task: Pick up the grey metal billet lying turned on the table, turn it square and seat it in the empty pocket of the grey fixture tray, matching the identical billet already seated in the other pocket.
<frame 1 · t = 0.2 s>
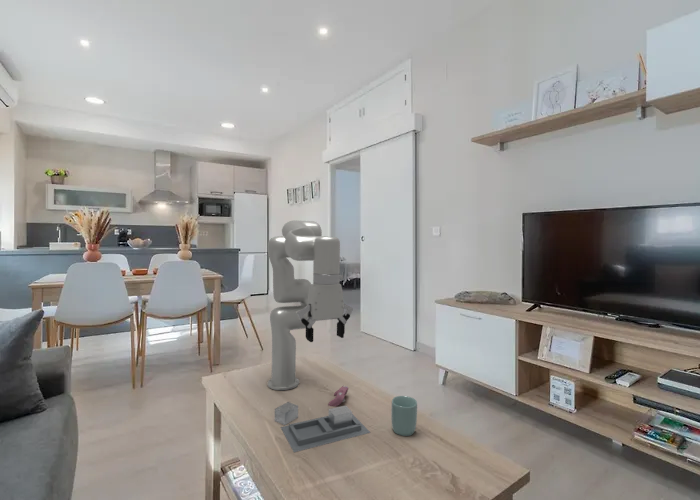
hand: (325, 338, 101), 31 cm above the table, tool pointing down, fingers open, 9 cm apart
cup: (403, 433, 108), on the table
grey fixture tray: (325, 433, 107), on the table
billet: (286, 422, 113), on the table
video game controller: (338, 403, 127), on the table
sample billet: (340, 426, 109), point 1 cm above the table, touching grey fixture tray
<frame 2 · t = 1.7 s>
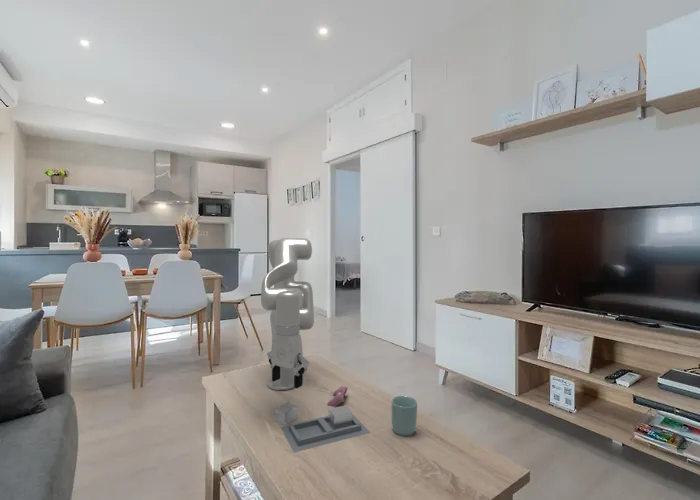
hand: (287, 383, 112), 13 cm above the table, tool pointing down, fingers open, 9 cm apart
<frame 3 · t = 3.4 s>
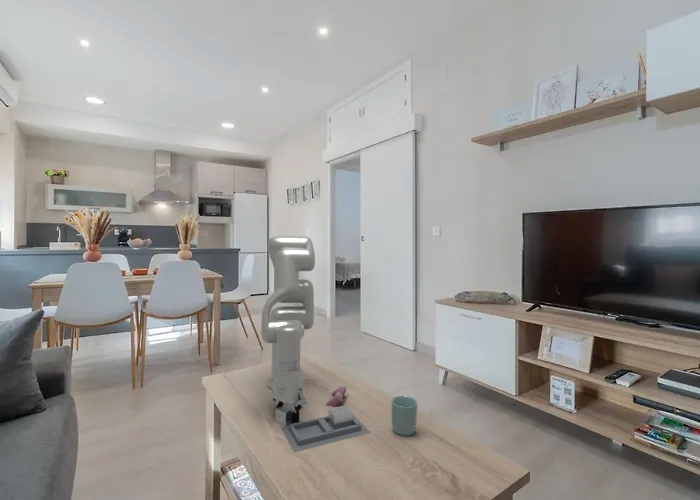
hand: (287, 419, 112), 1 cm above the table, tool pointing down, fingers open, 5 cm apart
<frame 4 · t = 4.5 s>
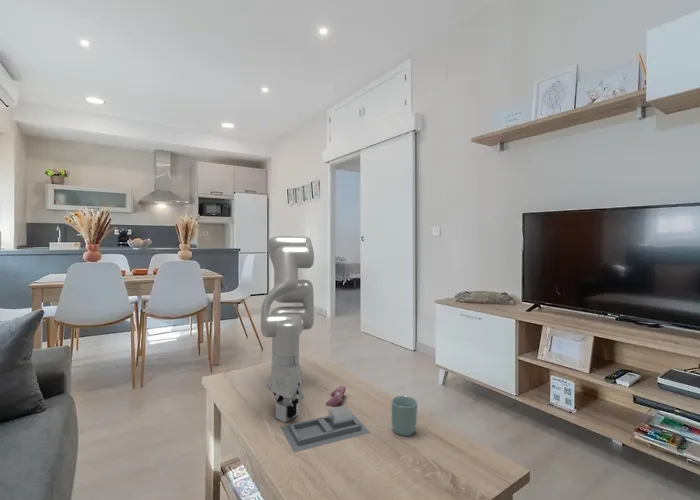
hand: (286, 413, 114), 2 cm above the table, tool pointing down, fingers closed on billet, 4 cm apart
billet: (287, 416, 114), point 1 cm above the table, touching gripper
everything else where it was.
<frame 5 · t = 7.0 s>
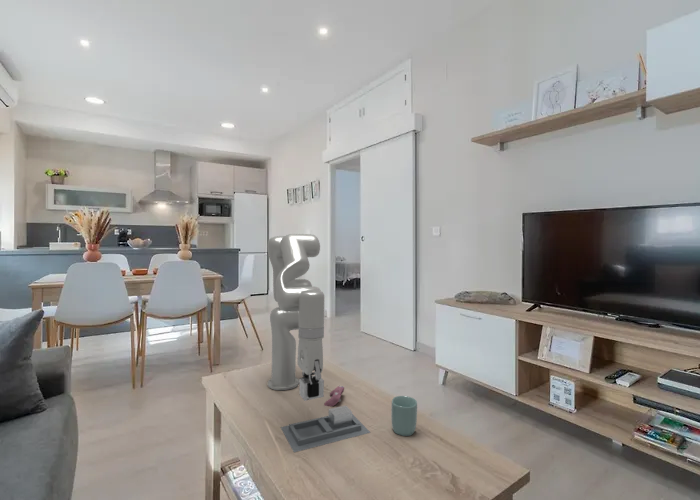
hand: (310, 392, 104), 14 cm above the table, tool pointing down, fingers closed on billet, 4 cm apart
billet: (311, 395, 105), point 12 cm above the table, touching gripper
when the fingers open (3 cm above the table, at t = 9.5 s): billet stays where it is, resting on grey fixture tray.
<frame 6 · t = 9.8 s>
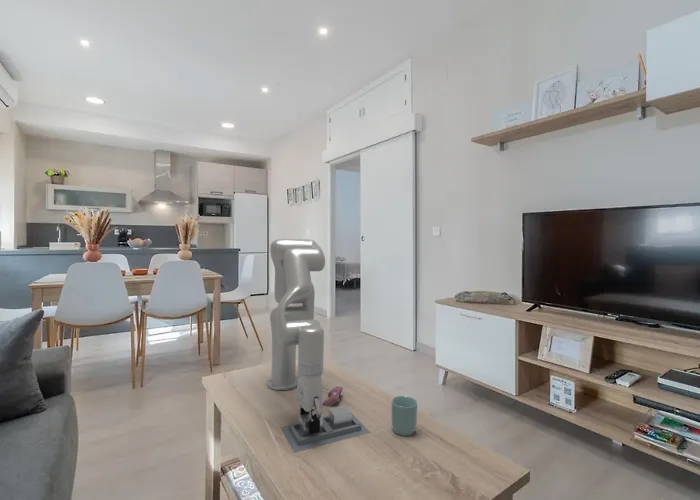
hand: (309, 425, 105), 3 cm above the table, tool pointing down, fingers open, 7 cm apart
billet: (310, 433, 105), point 1 cm above the table, touching grey fixture tray
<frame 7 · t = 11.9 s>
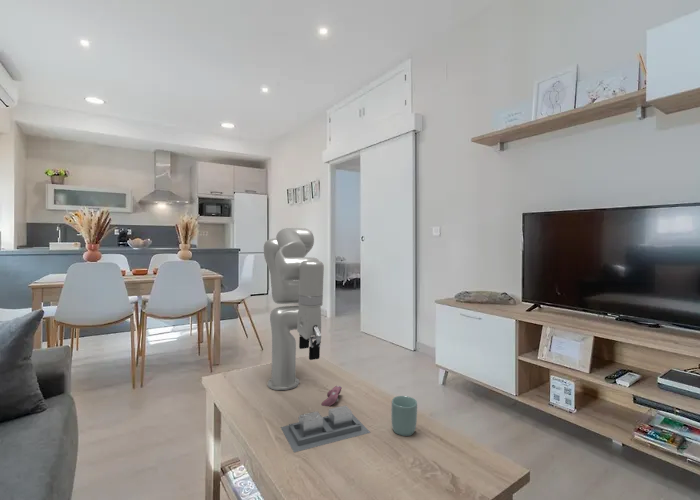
hand: (308, 353, 111), 23 cm above the table, tool pointing down, fingers open, 9 cm apart
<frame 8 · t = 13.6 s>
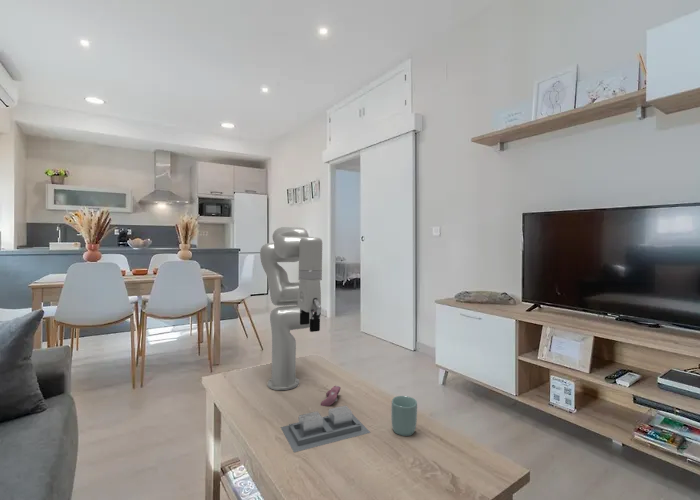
hand: (309, 327, 114), 30 cm above the table, tool pointing down, fingers open, 9 cm apart
at the end: billet 0.3 cm from the target spot on the grey fixture tray, point 1.0 cm above the grey fixture tray's base; billet tilted 0°; the gripper is holding nothing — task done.
